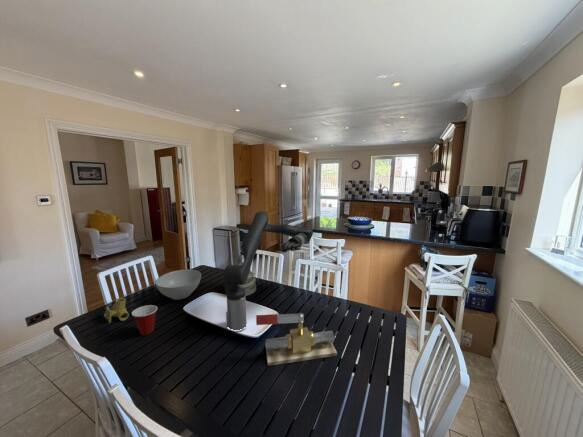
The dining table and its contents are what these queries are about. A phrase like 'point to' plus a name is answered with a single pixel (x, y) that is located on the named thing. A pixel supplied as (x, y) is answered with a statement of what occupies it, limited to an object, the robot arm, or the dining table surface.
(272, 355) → the mounting board
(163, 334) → the dining table surface
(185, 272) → the decorative bowl
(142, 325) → the plastic cup
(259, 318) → the valve lever
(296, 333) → the valve line
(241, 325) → the robot arm
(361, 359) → the dining table surface
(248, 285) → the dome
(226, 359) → the dining table surface
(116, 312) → the ball valve
